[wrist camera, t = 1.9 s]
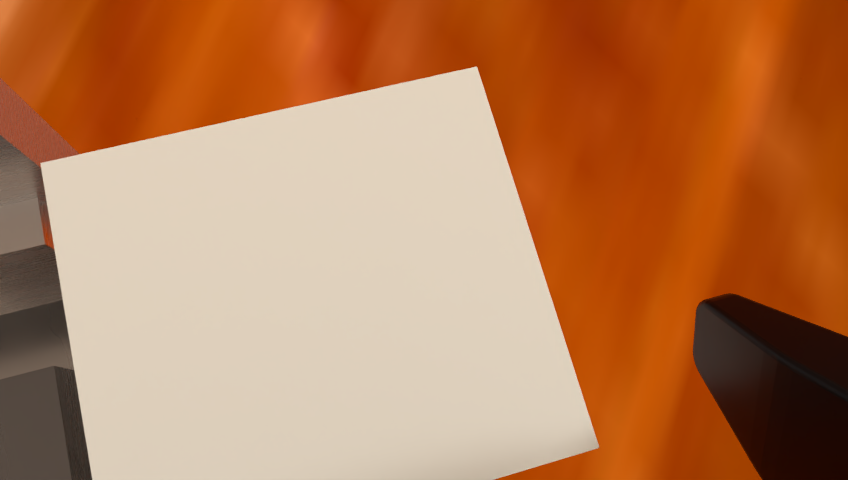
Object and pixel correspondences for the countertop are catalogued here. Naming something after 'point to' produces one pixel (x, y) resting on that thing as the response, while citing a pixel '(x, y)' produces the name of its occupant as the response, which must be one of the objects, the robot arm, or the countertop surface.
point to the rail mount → (33, 311)
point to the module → (314, 297)
